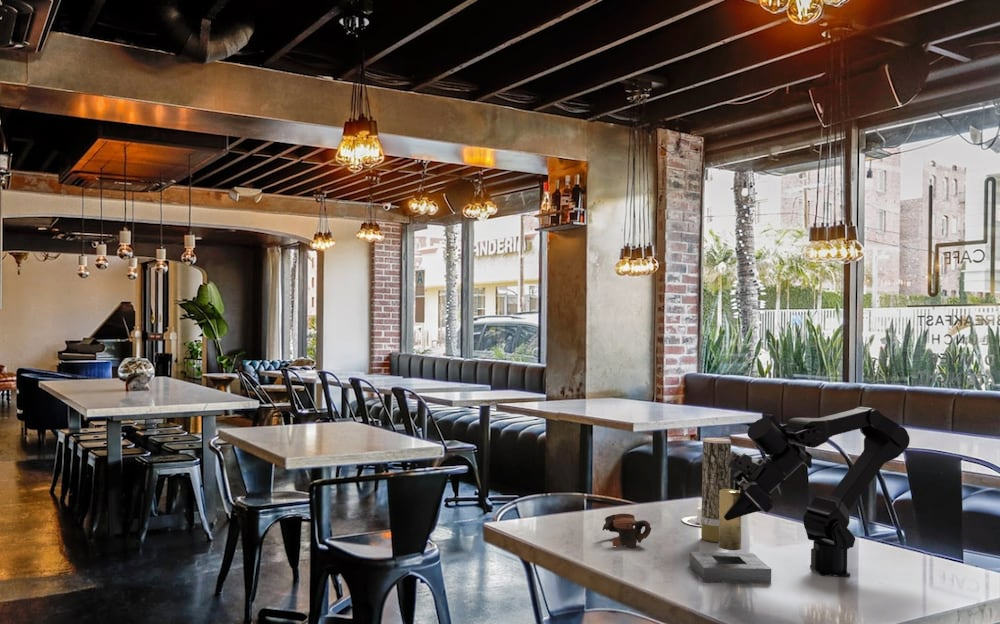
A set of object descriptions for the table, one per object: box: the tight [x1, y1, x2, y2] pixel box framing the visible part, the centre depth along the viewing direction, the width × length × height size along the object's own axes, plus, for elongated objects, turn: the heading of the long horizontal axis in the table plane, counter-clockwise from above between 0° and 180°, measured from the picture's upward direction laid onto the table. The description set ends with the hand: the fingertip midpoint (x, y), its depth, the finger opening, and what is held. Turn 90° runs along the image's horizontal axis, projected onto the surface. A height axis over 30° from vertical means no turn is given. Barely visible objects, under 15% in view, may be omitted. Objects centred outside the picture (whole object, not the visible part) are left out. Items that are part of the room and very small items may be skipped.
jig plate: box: [689, 551, 772, 584], centre depth 176 cm, size 14×12×3 cm
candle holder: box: [681, 506, 702, 527], centre depth 223 cm, size 12×12×4 cm
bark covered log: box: [700, 437, 732, 543], centre depth 205 cm, size 7×7×25 cm
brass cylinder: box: [718, 488, 742, 551], centre depth 176 cm, size 5×5×12 cm
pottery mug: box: [602, 513, 652, 548], centre depth 200 cm, size 12×10×8 cm
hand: (723, 516), depth 176 cm, fingers closed on brass cylinder, 5 cm apart
